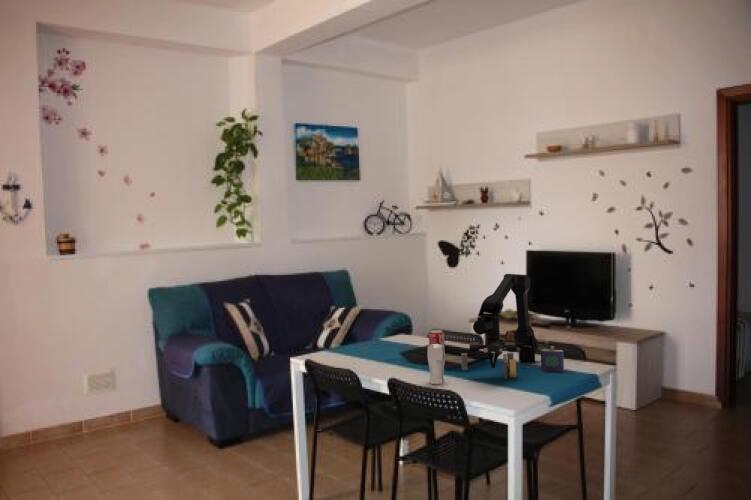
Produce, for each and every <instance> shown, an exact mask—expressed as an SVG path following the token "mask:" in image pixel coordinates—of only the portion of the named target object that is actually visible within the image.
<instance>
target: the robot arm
mask: <svg viewBox="0 0 751 500" xmlns="http://www.w3.org/2000/svg"><path fill="white" fill-rule="evenodd" d="M502 278H503V279H502V280H501V282H500V283H499V284H498V286H497V287H496V289H495V291H493V293H492V294H490V295H488V296H487V297H486V298H484V299H483V302H482V303H481V306H480V309H479V312H478V315H477V318H476V319H477V320H476V321H475V322H474V323H473V325H472V329H473V332H474V333H475V334H476V335H479V336H482V335H485V336H484V337H485V344H480V341H479V342H477V341H476V342H475V341H473V342H470V343H469V352H470V353H478V352H479V351H480V350H483V354H485V355H486V356H487V357H488V360H489V363H490V366H491V369H494V368H495V366H496V364H497V360H498V358H499V356H500V355H503V350H506V351H507V353H517V352H518V360H519V362H520V364H525V363H529V364H531V363H537V360H536V350H538V349H539V344H540V343H539V341H538V339H537V337H536V336H535V332H534V329H533V328H532V327H531V325H530V317H529V302H528V293H529V290H530V288H531V278H530V276H528V275H527V274H520V273H519V274H518V273H517V274H515V273H506V274H504V275H503V277H502ZM510 291H512V293H513V294H514V296H515V307H516V318H517V328H516V329H515V330H516V331H515V332H514V335H515V343H516V344H515V343H514V342H506V345H504V340H500V339H501V337H500V335H501V334H500V332H501V329H500V327H501V326H500V319H501V318H502V315H501V312H502V310H503V308H504V301H505V299H506V297H507V296H508V294H509V293H510ZM517 347H520V350H518V351H517ZM492 353H493V356H492Z"/></svg>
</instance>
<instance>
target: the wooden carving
mask: <svg viewBox="0 0 751 500" xmlns="http://www.w3.org/2000/svg"><path fill="white" fill-rule="evenodd" d="M516 330H517V329H510V330H506V331H505V338H504V337H502V338H501V337H500V340H504V345H506V342H514V343H515V335H514V332H515V331H516ZM515 344H516V343H515ZM518 350H520V347H517V352H518Z"/></svg>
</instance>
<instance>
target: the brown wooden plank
mask: <svg viewBox="0 0 751 500" xmlns="http://www.w3.org/2000/svg"><path fill="white" fill-rule="evenodd" d="M502 357H503V358H502V359H503V362H502V363H503V367H502V368H503V374H504V375H503V376H504V379H505V380H508V376H509V375H508V373H509V372H508V369H510V366H507V353H502Z"/></svg>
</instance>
